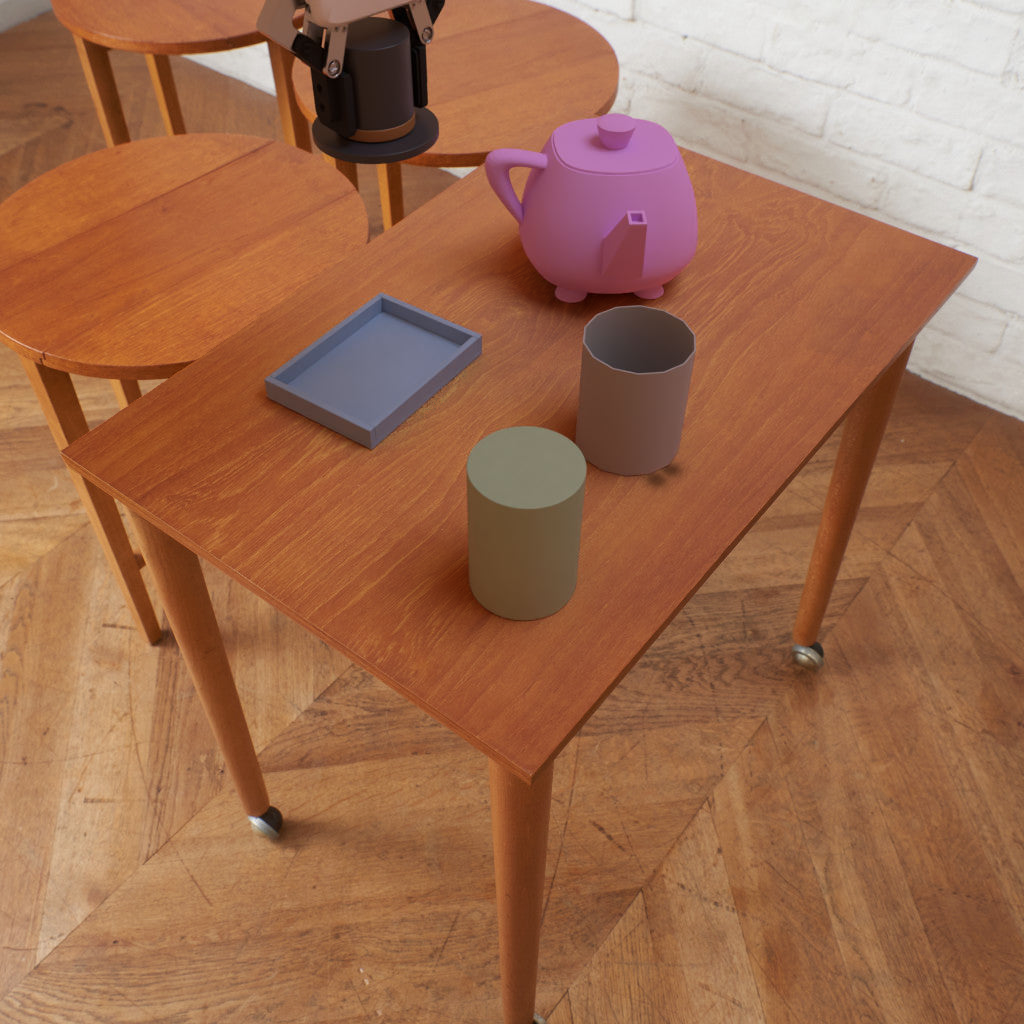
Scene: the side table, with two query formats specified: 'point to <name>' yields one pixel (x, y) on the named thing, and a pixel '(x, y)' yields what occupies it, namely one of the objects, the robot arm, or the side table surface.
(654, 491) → the side table surface
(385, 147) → the hat
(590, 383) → the cup
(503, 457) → the pedestal
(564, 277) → the teapot
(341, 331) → the tray
